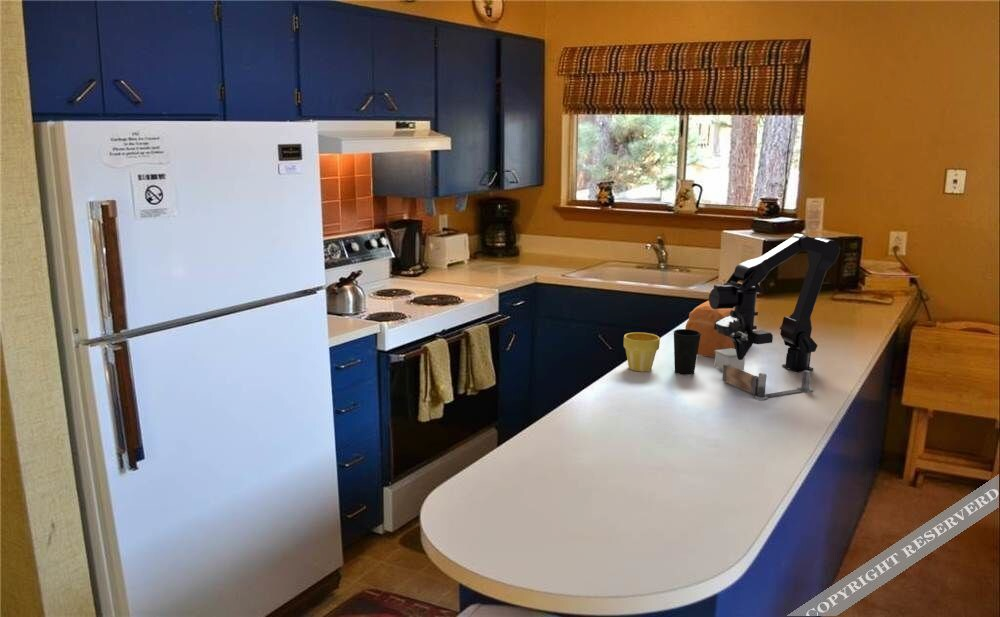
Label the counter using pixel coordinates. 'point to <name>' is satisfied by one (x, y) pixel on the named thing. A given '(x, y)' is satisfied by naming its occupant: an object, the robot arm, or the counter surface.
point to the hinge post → (761, 387)
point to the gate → (740, 378)
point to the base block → (728, 359)
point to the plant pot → (641, 350)
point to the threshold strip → (783, 393)
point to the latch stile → (805, 382)
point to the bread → (709, 329)
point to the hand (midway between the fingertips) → (740, 359)
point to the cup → (685, 350)
